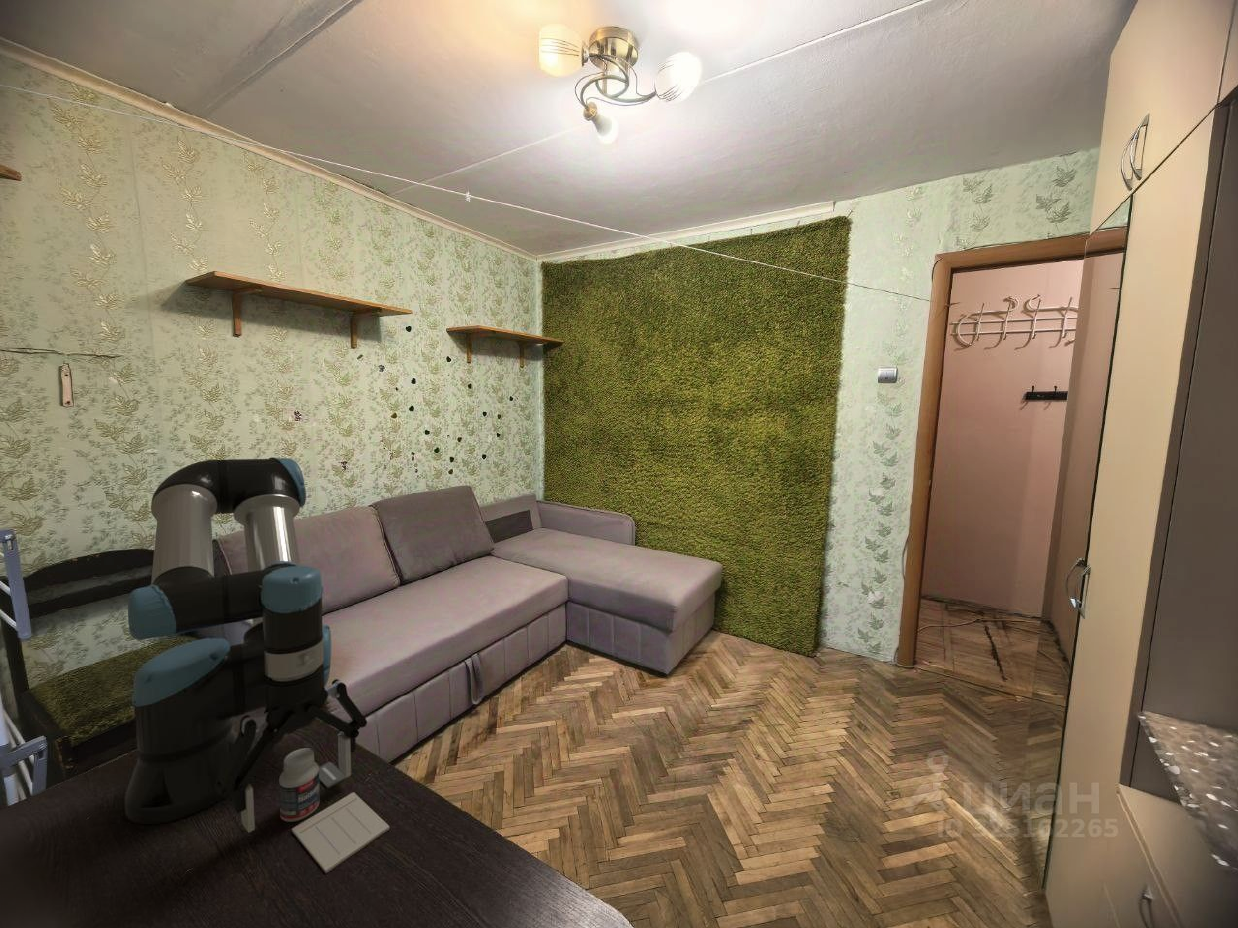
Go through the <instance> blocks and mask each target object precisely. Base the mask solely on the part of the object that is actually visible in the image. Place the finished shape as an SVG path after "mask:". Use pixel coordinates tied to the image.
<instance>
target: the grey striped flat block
mask: <svg viewBox="0 0 1238 928" xmlns="http://www.w3.org/2000/svg"><path fill="white" fill-rule="evenodd" d="M347 778H348V777H345V776H344V775H343V774H342V773H341V772H340V771H339V767H337V766H336V765H335V764H334V763H333V762H331V761H328V762H326V763H324V764H323V765H321V766H320V765H319V782H321V783H322V784H323V786H325V788H327V789H330V788H332V787H334V786H336V785H337V784H339V783H341V782H343V781H344V780H346V779H347Z"/></svg>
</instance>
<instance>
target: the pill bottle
mask: <svg viewBox="0 0 1238 928" xmlns="http://www.w3.org/2000/svg"><path fill="white" fill-rule="evenodd" d="M319 767H320V765H319V764H318V762H316V761H315V752H314V750H313V749H312V748H309V747H304V748H299V749H297V750H293V751H292V752H290V753H289V754H287V755H286V756H285V757H284V759H283V771H282V772H281V774H280V776H279V778H278V795H279V799H278V800H279V816H280V819H281V820H283V821H285V822H287V823H289V822H290V823H291V822H298V821H301V820H303V819H306V818H307V817H309V816H310V815H312V814H313V813H314V812H315V811H317V809H318V808H319V806H320V800H321V799H320V796H321V794H320V793H321V792H320V780H319Z"/></svg>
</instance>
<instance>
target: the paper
mask: <svg viewBox="0 0 1238 928" xmlns="http://www.w3.org/2000/svg"><path fill="white" fill-rule="evenodd" d="M389 830H390V826H389V825H388V823H387V822H385V821H384V820H383V819H382V818H381V817H380V816H379V815H378V814H377V813H376V812H375V811H374V810H373V809H372V808H371V807H370V806H369V805H368V804H367V803H366V802H364V801H363V799H362V798H360V796H359V795H358V794H356V793H355V792H351V793H349V794H348V795H346V796H345V797H343V798H341V799H339V800H338V801H336V802H334V803H333V804H331V805H329V806H327V807H326V808H324V809H323V810H321V811H320V812H318V813H316V814H314V815H313V816H311V817H309V818H308V819H305V820H304V821H303V822H301V823H299V824H298V825H296V826H294V827H293V828H291V832H292V833H293V834H294V835H295V837H296V838H297V840H298V841H299V842H300V843H301V845H303V847H304V848H305V849H306V851H308V853H309V854H310V856H311V857H312V858H313V859H314V860H315V862H316V863H317V864H318V865H319V867H320V868H321V869H322V870H323V872H325V874H327V873H329V872H330V871H331V870H333V869H334V868H336V867H337V866H339V865H340V864H342V863H343V862H344V861H346V860H347V859H348V858H350V857H351V856H353V855H354V854H356V853H357V852H358V851H360V850H361V849H363V848H364V847H366V846H367V845H368V844H370V843H372V842H373V841H374V840H376V839H377V838H378V837H380V836H382V835H383V834H384V833H386V832H387V831H389Z"/></svg>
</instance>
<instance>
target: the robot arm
mask: <svg viewBox="0 0 1238 928" xmlns="http://www.w3.org/2000/svg"><path fill="white" fill-rule="evenodd" d="M306 501H307V489H306V486H305V479H304V475H303V473H302V470H301V467H300V465H299V463H298V462H297V461H295V459H292V458H285V457H283V458H281V457H280V458H277V457H276V456H275V457H269V458H241V459H239V458H238V459H235V458H234V459H233V458H232V459H229V458H228V459H206V460H201V461H197V462H194V463H191V464H189V465H187V466H185V467H184V466H183V467H182V468H180V469H178V470H177V471H175V472H173V473H172V474H171V475H169V476H167V477H166V478H165V479H164V480H163V481H162V482H161V483H160V484H159V486H157V488H156V490H155V491H154V493H153V495H152V498H151V505H150V510H151V514H152V516H153V517H154V519H155V520H156V530H155V537H154V538H155V539H154V549H153V561H152V572H151V580H150V582H151V583H150V584H149V585H147V586H144V587H139V588H136V589H133V590H132V591H131V593H129V596H128V601H127V602H128V603H127V619H128V627H129V628H128V629H129V633H130V636H131V637H132V638H133V639H135V640H139V641H140V640H141V641H142V640H148V639H156V638H162V637H167V638H168V637H173V636H176V635H180V634H184V633H191V632H194V631H199V630H204V629H207V628H214V627H218V626H223V625H229V624H235V623H239V622H243V621H249V620H252V625H250V626H249V627H248V628H247V629H246V630H245V631H244V633H243V643H239V644H234V645H233V644H232V645H231V644H230V643H229V642H228V640H227V639H225V638H223V637H213V638H210V637H207V638H200V639H196V640H193V641H189V642H186V643H185V642H184V643H183V644H180V645H177V646H174V647H172V648H169V649H168V650H165V651H163V652H160V653H159V654H158V655H155V656H153V657H152V658H151V659H149V660H148V661H146V662H145V663H144V664H142V666H140V668H139V669H138V670H137V671H136V674H135V675H134V678H133V694H132V695H133V696H132V698H131V705H133V707H134V717H135V718H134V721H135V733H136V734H135V735H136V748H137V750H136V751H137V761H136V764H135V766H134V769H133V771H132V775H131V777H130V781H129V783H128V786H127V788H126V792H125V795H124V811H125V816H126V818H127V819H128V820H129V821H131V822H133V823H135V824H140V825H156V824H158V825H159V824H164V823H169V822H172V821H176V820H180V819H184V818H185V817H188V816H191V815H193V814H195V813H196V814H197V813H198V812H200V811H203V810H204V809H206V808H208V807H211V806H213V805H214V804H216V803H217V802H219V801H220V800H222V799H223V798H225V797H227V796H229V794H231V798H232V799H231V800H232V801H231V802H232V803H231V805H232V808H233V809H234V811H235V812H236V813H237V814H240V817H241V824H242V826H243V827H244V828H245V830H246V832H248V834H249V833H251V832H253V831H255V830H256V828H255V827H256V826H255V825H256V824H255V823H256V822H255V810H254V809H255V807H254V806H255V805H254V788H253V786H252V784H250V783H251V782H252V780H253V779H254V777H255V775H256V774H257V772H258V771H259V770H260V768H261V767H262V765H263V764H264V762H265V761H266V759H267V758H268V756H269V755H270V754H271V752H272V751H273V749H274V748H275V746H276V745H278V744H279V743H280V742H281V741H282V740H283V738H284V736H285V735H286V734H288V735H289V734H292V733H294V732H296V731H297V730H299V729H301V728H304V727H308V726H310V725H312V722H314V720H316V719H317V720H319V721H322V722H323V723H325V724H328V725H329V726H331V727H333V728H335V729H336V730H338V731H340V732H339V733H337V748H338V749H337V750H338V751H337V752H338V753H337V755H338V756H337V757H338V758H337V759H338V769H339V771H340V772H341V773H342V774H343V775H344V776H345V777H347V778H348V777H350V776H352V756H351V754H353V753H354V752H355V751H356V748H357V747H356V745H357V744H356V739H357V737H358V736H359V734H360V731H359V730H360V729H361V728H365V727H366V726H367V724H368V720H367V719H366V717H365V716H364V714H362V712H361V711H360V709H359V708H358V707H357V706H356V704H355V702H353V700H352V698H351V697H350V696H349V695H348V690H347V685H346V683H344V682H342V681H341V680H340V679H338V678H335V679H334V680H332V682H331V684H330V685H328V686H326V685H327V684H328V682H329V677H330V672H331V661H332V660H331V659H332V633H331V627H330V626H329V624H323V594H324V587H323V586H322V577H321V573H320V571H319V569H317V568H316V567H313V566H312V567H311V566H307V565H301V562H300V555H299V549H298V548H299V547H298V543H297V536H296V528H295V522H294V519H295V518H296V517H297V516H298V514H299V512H300V510H301V508H303V507H304V506H305V505H306ZM226 514H227V515H228V514H229V515H230V514H232V515H233V518H234V520H235V521H236V522H237V523H238V524H239V525H242V526H243V532H244V540H245V551H246V552H245V553H246V562H247V571H246V572H240V573H232V574H225V575H219V576H215V569H214V568H215V567H214V566H215V565H214V550H213V549H214V546H213V530H212V518H213V517H214V515H226ZM328 697H331V698H332V699H336V700H337V702H338V704H340V705H341V707H342V708H343V710H344V711H345V712H346V713H347V714H348V716H349V717H350V718H351V721H350V722H349V723H348V722H347V721H345V720H343V719H341V718H340V717H338V716H336V715H335V714H333V713H331V712H329V710H326V709H325V708H323V706H324V705H325V702H326V701H327V699H328ZM263 709H265V710H264V711H263V713H261V714H257V715H254V716H250V715H249V714H250V713H254V712H257V711H260V710H263ZM242 715H243V717H242V718H241V719H240V721H239V730H238V731H239V732H238V735H237V733H236V731H235V729H234V726H233V724H234V723H233V718H236V717H237V718H238V717H239V716H242ZM265 723H266V724H267V725H266V726H265V728H263V731H262V735H261V737H260V738H259V740H257V742H256V744H255V745H254V747H253V749H251V748H252V746H253V743H254V740H255V739H256V734H257V733H259V732H260V731H261V730H260V729H261V727H262V726H263V725H264V724H265ZM275 730H276V731H275ZM250 750H251V751H250ZM249 751H250V752H249ZM248 753H249V754H248Z"/></svg>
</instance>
